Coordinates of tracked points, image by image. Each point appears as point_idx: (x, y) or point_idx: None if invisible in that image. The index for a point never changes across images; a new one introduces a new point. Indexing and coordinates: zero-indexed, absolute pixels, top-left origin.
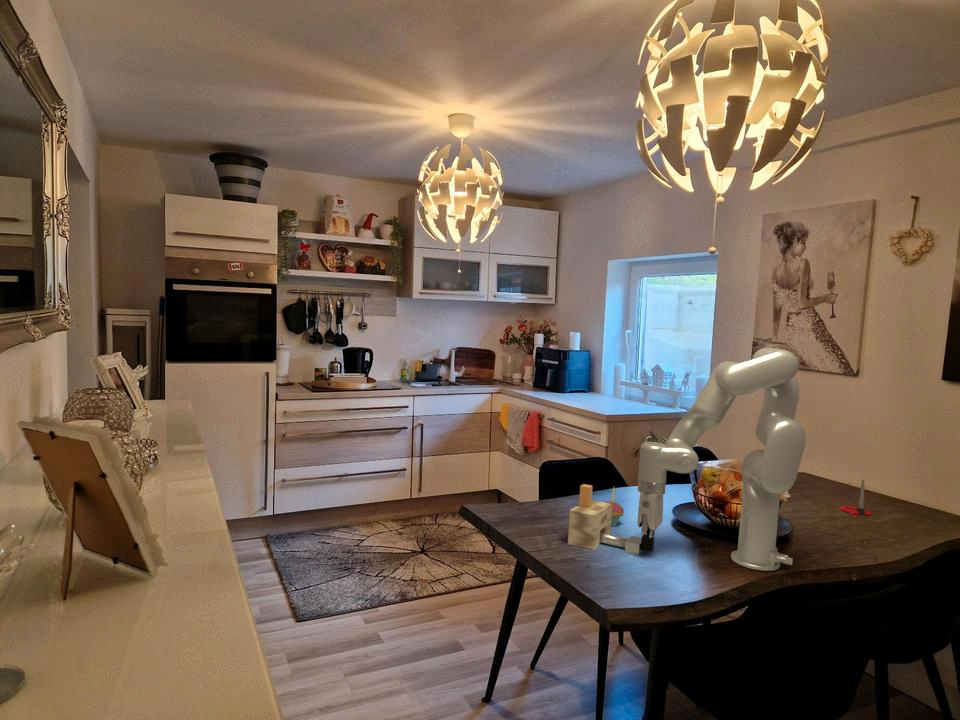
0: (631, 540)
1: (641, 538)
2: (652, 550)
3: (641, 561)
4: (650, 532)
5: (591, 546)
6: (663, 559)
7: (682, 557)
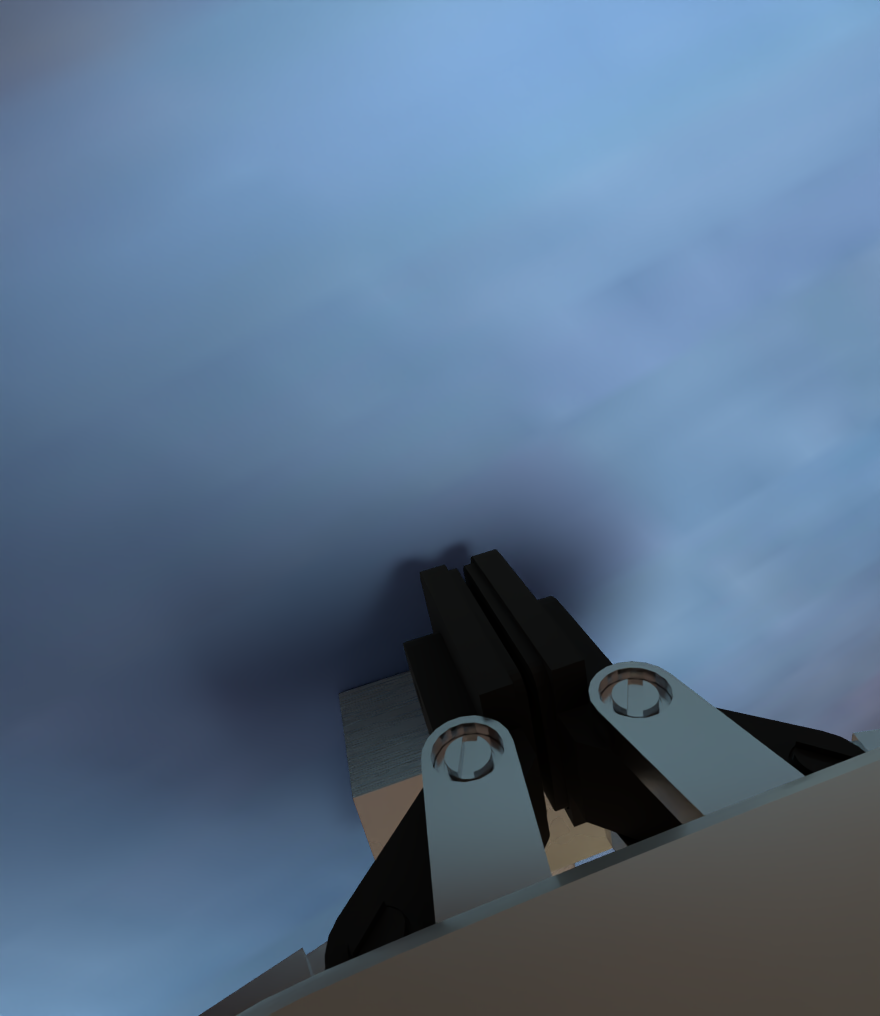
0: (561, 830)
1: (380, 827)
2: (477, 557)
3: (709, 503)
4: (761, 758)
5: None
6: (470, 362)
7: (129, 174)
